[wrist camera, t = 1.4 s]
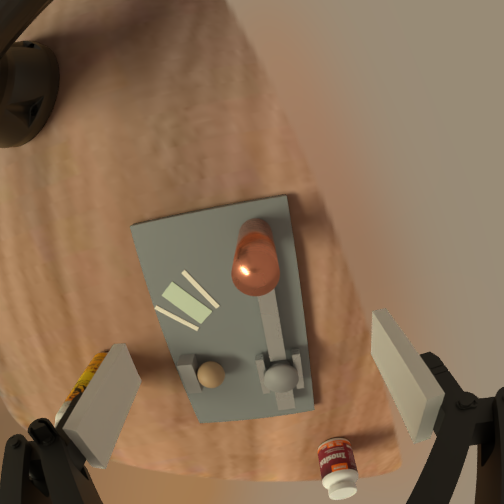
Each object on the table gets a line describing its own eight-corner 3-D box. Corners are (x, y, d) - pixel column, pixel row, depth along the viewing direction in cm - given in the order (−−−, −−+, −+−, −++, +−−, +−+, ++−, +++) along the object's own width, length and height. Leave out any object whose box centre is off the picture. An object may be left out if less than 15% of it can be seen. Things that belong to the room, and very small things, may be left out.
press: (133, 223, 36) (117, 234, 31) (285, 194, 35) (290, 201, 30) (200, 417, 46) (196, 439, 41) (313, 404, 44) (317, 426, 40)
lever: (305, 397, 42) (315, 459, 31) (266, 403, 42) (269, 466, 31) (278, 213, 34) (289, 245, 23) (226, 222, 34) (213, 258, 23)
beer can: (119, 347, 42) (78, 419, 27) (136, 379, 43) (104, 452, 29) (88, 351, 42) (43, 416, 28) (105, 381, 44) (69, 448, 30)
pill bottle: (340, 431, 47) (352, 481, 36) (355, 445, 48) (368, 491, 38) (310, 446, 48) (317, 495, 38) (326, 458, 50) (335, 504, 39)
